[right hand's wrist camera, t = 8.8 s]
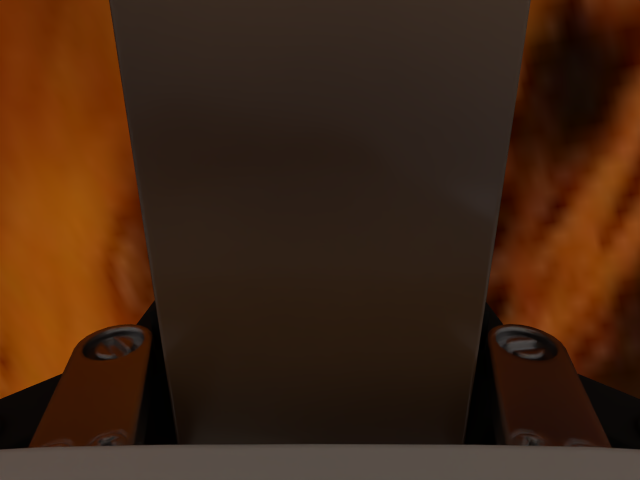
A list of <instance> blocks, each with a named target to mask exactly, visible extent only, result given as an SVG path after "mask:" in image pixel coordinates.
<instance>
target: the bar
mask: <svg viewBox="0 0 640 480" xmlns="http://www.w3.org/2000/svg"><path fill="white" fill-rule="evenodd" d="M109 3H110V9H111V16H112V22H113V29H114V35H115V42H116V48H117V55H118V61H119V68H120V74H121V81H122V87H123V94H124V101H125V107H126V114H127V120H128V127H129V133H130V140H131V146H132V153H133V159H134V166H135V172H136V179H137V185H138V192H139V198H140V205H141V211H142V218H143V225H144V231H145V238H146V244H147V251H148V257H149V264H150V270H151V277H152V283H153V290H154V296H155V303H156V309H157V316H158V322H159V329H160V335H161V342H162V348H163V355H164V362H165V368H166V375H167V381H168V388H169V394H170V401H171V407H172V414H173V420H174V427H175V433H176V440H177V445H241V444H399V445H464V444H465V437H466V430H467V424H468V417H469V410H470V404H471V397H472V390H473V383H474V377H475V370H476V363H477V356H478V350H479V343H480V336H481V330H482V323H483V316H484V309H485V303H486V296H487V289H488V283H489V276H490V269H491V262H492V256H493V249H494V242H495V236H496V229H497V222H498V215H499V209H500V202H501V195H502V188H503V182H504V175H505V168H506V162H507V155H508V148H509V141H510V135H511V128H512V121H513V115H514V108H515V101H516V94H517V88H518V81H519V74H520V68H521V61H522V54H523V47H524V41H525V34H526V27H527V20H528V14H529V7H530V0H109Z"/></svg>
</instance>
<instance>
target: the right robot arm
mask: <svg viewBox="0 0 640 480" xmlns="http://www.w3.org/2000/svg"><path fill="white" fill-rule="evenodd" d="M0 480H640V399H638V398H635V397H633V396H631V395H628V394H626V393H623V392H621V391H618V390H616V389H614V388H611V387H609V386H606V385H604V384H601V383H599V382H596V381H594V380H592V379H589V378H587V377H584V376H582V375H579V374H577V372H576V370H575V367H574V365H573V363H572V361H571V359H570V357H569V355H568V352H567V350H566V348H565V347H564V346H563V344H562V343H561V342H560V341H559V340H557V339H556V338H555V337H553V336H552V335H550V334H548V333H546V332H544V331H542V330H539V329H536V328H533V327H529V326H524V325H516V324H506V325H503V324H502V322H501V321H500V320H499V318H498V317H497V316H496V314H495V313H494V312H493V310H492V309H491V308H490V307H489V305H488V304H487V303H485V309H484V316H483V323H482V330H481V336H480V343H479V350H478V356H477V363H476V370H475V377H474V383H473V390H472V397H471V404H470V410H469V417H468V424H467V430H466V437H465V444H464V445H399V444H241V445H177V440H176V433H175V427H174V420H173V414H172V407H171V401H170V394H169V388H168V381H167V375H166V368H165V362H164V355H163V348H162V342H161V335H160V329H159V322H158V316H157V309H156V303H155V301H154V302H153V303H152V305H151V306H150V307H149V309H148V310H147V311H146V313H145V314H144V315H143V317H142V318H141V319H140V321H139V322H138V323H137V325H134V324H124V325H116V326H111V327H107V328H104V329H101V330H98V331H96V332H94V333H92V334H90V335H88V336H87V337H85V338H84V339H83V340H81V341H80V342H79V343H78V344H77V346H76V347H75V348H74V350H73V352H72V355H71V357H70V359H69V361H68V363H67V365H66V367H65V370H64V372H63V374H60V375H58V376H55V377H53V378H51V379H48V380H46V381H43V382H41V383H38V384H36V385H34V386H31V387H29V388H26V389H24V390H21V391H19V392H16V393H14V394H12V395H9V396H7V397H4V398H2V399H0Z"/></svg>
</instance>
